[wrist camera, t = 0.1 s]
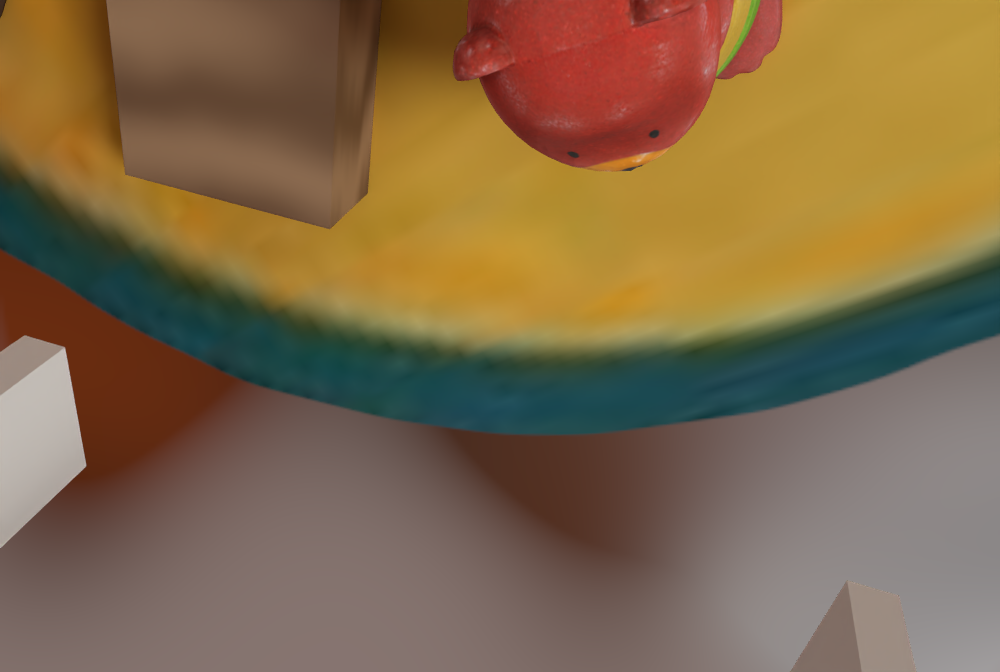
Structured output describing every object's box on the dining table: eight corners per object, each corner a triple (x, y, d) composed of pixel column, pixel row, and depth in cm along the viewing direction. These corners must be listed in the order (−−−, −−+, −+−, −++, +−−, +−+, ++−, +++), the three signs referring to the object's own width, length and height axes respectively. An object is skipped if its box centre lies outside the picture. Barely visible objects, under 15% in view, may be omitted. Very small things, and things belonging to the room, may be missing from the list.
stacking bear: (544, 107, 37) (425, 273, 23) (496, -133, 33) (307, -120, 18) (784, 66, 34) (827, 229, 19) (769, -210, 29) (809, -272, 15)
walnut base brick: (168, -76, 38) (98, -67, 33) (384, -27, 36) (340, -12, 32) (182, 143, 44) (125, 174, 39) (368, 192, 42) (329, 229, 38)
